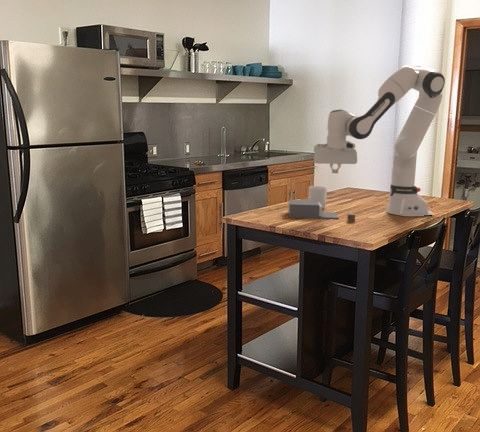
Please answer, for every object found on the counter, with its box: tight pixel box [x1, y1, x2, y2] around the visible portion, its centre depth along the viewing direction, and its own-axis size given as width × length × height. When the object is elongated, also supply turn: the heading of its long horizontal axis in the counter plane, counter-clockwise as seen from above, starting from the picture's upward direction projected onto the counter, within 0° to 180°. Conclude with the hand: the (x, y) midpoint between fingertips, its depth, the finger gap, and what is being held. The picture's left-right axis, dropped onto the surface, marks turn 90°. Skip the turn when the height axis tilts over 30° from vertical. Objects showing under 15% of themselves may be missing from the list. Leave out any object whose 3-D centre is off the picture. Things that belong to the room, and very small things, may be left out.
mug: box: [307, 185, 328, 211], centre depth 281 cm, size 12×9×11 cm
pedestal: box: [346, 212, 356, 223], centre depth 250 cm, size 3×3×4 cm
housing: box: [288, 199, 339, 220], centre depth 262 cm, size 23×13×6 cm, turn 87°
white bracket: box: [318, 202, 323, 216], centre depth 262 cm, size 14×13×5 cm
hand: (334, 173), depth 258 cm, fingers closed
